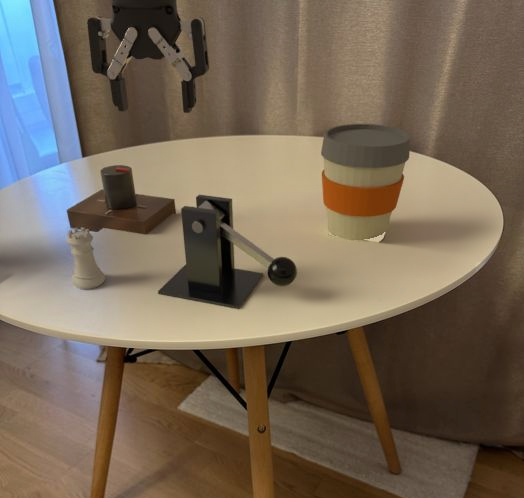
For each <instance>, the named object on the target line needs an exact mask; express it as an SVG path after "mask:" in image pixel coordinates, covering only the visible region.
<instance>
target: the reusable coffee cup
mask: <svg viewBox="0 0 524 498" xmlns="http://www.w3.org/2000/svg"><path fill="white" fill-rule="evenodd" d="M410 147H411V135H410V134H409V132H407V131H406V130H403V129H401V128H398V127H393V126H389V125H384V124H378V123H377V124H375V123H349V124H348V123H347V124H341V125H339V124H338V125H336V126H332V127H330V128H328V129H325V130H324V133H323V138H322V145H321V151H320V155H321V157H322V158H323V169H322V171H321V184H322V185H321V186H322V201H323V204H324V206H325V207H326V222H327V225H326V226H327V232H328V231H329V232H330V233H331V234H332V235H334V236H333V237H336V236H337V237H336V238H340V239H343V240H347V239H349V240H348V241H354V240H364V239H370V238H374V237H377V236H379V235H382V234H383V233H384V232H386V233H387V231H388V227H389V224H390V221H391V216H392V213H393V211H395V209H397V204H398V202H399V199H400V194H401V191H402V188H403V184H404V180H405V175H404V170H405V167H406V166H405V165H406V163H407V161H409V159H410V152H411V151H410V149H411V148H410ZM386 230H387V231H386Z"/></svg>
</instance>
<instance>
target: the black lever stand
mask: <svg viewBox="0 0 524 498" xmlns="http://www.w3.org/2000/svg"><path fill="white" fill-rule="evenodd" d="M205 201H208V202H209V203H210V204H212V205H213V206H215V207H216V208H217V209H219V210H220V211H221V212H223V213H224V214H225V215H224V217H223V219H222V221H223V222H224V223H225V224H227V225H228V226H229V227H231V228H232V229H234V216H233V212H234V211H233V199H232V198H229V197H221V196H213V195H206V194H198V195H197V196H195V203H196V207H195V206H188V205H184V206H182V207H180V213H181V214H180V215H181V224H182V235H183V246H184V247H183V248H184V255H185V264H184V265H183V266H182V267H181V268H180V269H179V270H178V271H177V272H175V274H174V275H173V276H172V277H171V278H170V279H169V280H168V281H167V282H165V284H164V285H162V286H161V287H160V289H158V291H157V294H158V295H161V296H166V297H171V298H177V299H182V300H188V301H193V302H198V303H203V304H209V305H214V306H219V307H224V308H229V309H233V310H234V309H235V310H239V309H241V307H242V306H243V304H244V303H245V302H246V300H247V299H248V298H249V296H250V295H251V294H252V292H253V291H254V290H255V288H256V287H257V286H258V284H260V282H261V280H262V279H263V278H264V276H265V275H264V272H258V271H252V270H245V269H239V268H236V267H235V266H236V265H235V244H233V243H232V242H231V241H229V240H228V239H226V238H225V237H224V236H222V235H221V234H220V222H219V211H218V210H211V209H204V208H198V207H199V206H200V205H201V204H203V203H204V202H205Z"/></svg>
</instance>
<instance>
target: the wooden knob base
mask: <svg viewBox="0 0 524 498" xmlns="http://www.w3.org/2000/svg"><path fill="white" fill-rule="evenodd" d="M135 195H136V202H137V203H136V205H135V206H133V207H130V208H127V209H111V208H108V207H107V206H106V201H105V195H104V190H103V188H102V189H100V190H98V191H97V192H95V193H93V194H91V195H90V196H88V197H86V198H84V199H83V200H81V201H79V202H78V203H76V204H74V205H73V206H71V207H70V208H67V209H66V214H67V219H68V224H69V227H70V228H71V229H74V228H77V229H78V230H81V227H82V228H85V229H88V230H89V232H95V233H96V232H97V233H98V232H100V231H101V230H102V229H107V230H114V231H120V232H128V233H133V234H140V235H148V234H149V233H150V232H151V231H153V230H154V229H156V227H157V226H159V225H160V224H162V223H163V222H164V221H166V220H167V219H168V218H169V217H171V216H172V215H173V214H174V215H176V214H177V210H176V200H175V198H168V197H163V196H162V197H161V196H154V195H147V194H141V193H140V194H139V193H135Z"/></svg>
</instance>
